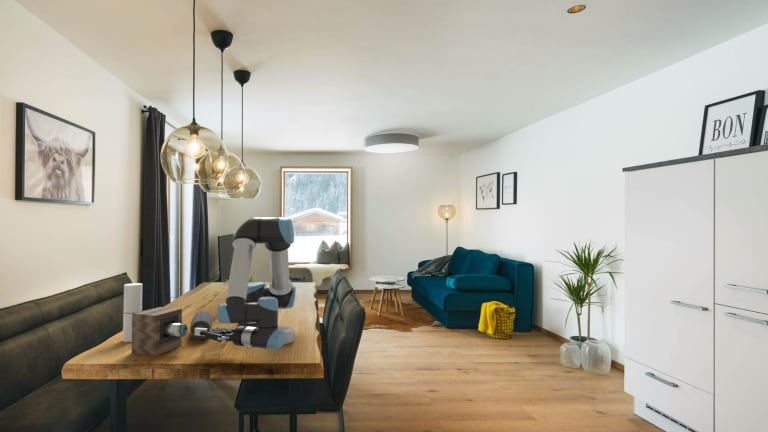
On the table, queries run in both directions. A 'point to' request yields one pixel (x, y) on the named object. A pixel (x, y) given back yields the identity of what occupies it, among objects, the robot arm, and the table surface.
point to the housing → (154, 331)
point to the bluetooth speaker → (200, 322)
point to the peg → (175, 329)
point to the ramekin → (287, 334)
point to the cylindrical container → (131, 307)
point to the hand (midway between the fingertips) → (195, 331)
